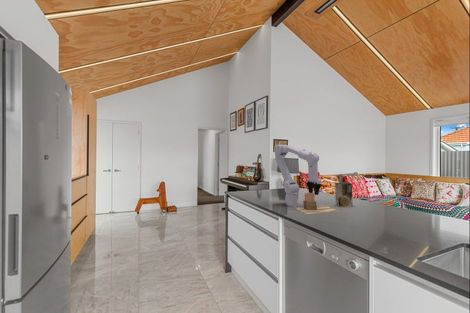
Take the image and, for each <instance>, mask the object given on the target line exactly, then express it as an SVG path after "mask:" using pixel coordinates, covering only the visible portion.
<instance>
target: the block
mask: <svg viewBox="0 0 470 313" xmlns="http://www.w3.org/2000/svg"><path fill="white" fill-rule="evenodd" d="M304 200H305V201H307V202H315V201H316V200H315V194H314V192H313V193H309V192H305V193H304Z"/></svg>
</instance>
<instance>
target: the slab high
mask: <svg viewBox="0 0 470 313" xmlns="http://www.w3.org/2000/svg"><path fill="white" fill-rule="evenodd" d="M302 203H303V204H302V205H303V206H304V205H306V206H317V201H316V200H315V202H307V201H305V199H304V200H303V202H302Z"/></svg>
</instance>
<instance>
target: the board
mask: <svg viewBox="0 0 470 313" xmlns="http://www.w3.org/2000/svg"><path fill="white" fill-rule="evenodd" d="M316 206H317V210H306V209H304V206H298V207H297V206H293V208H294V209H295V210H298V211H300V212H302V213H304V214H306V215H308V214H309V215H312V214H325V213H336V212H337V213H338V212H340V210H339V209H335V208H333V207H330V206H327V205H316Z"/></svg>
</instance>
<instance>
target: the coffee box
mask: <svg viewBox="0 0 470 313" xmlns="http://www.w3.org/2000/svg"><path fill="white" fill-rule="evenodd" d="M352 184H353V183H352V182H351V183H350V182H335V183H334V186H335V187H334V192H335V193H334V194H335V195H334V196H335V197H334V198H335V206H336V207H339V208H348V207H349V208H351V207H352V208H353V185H352Z"/></svg>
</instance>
